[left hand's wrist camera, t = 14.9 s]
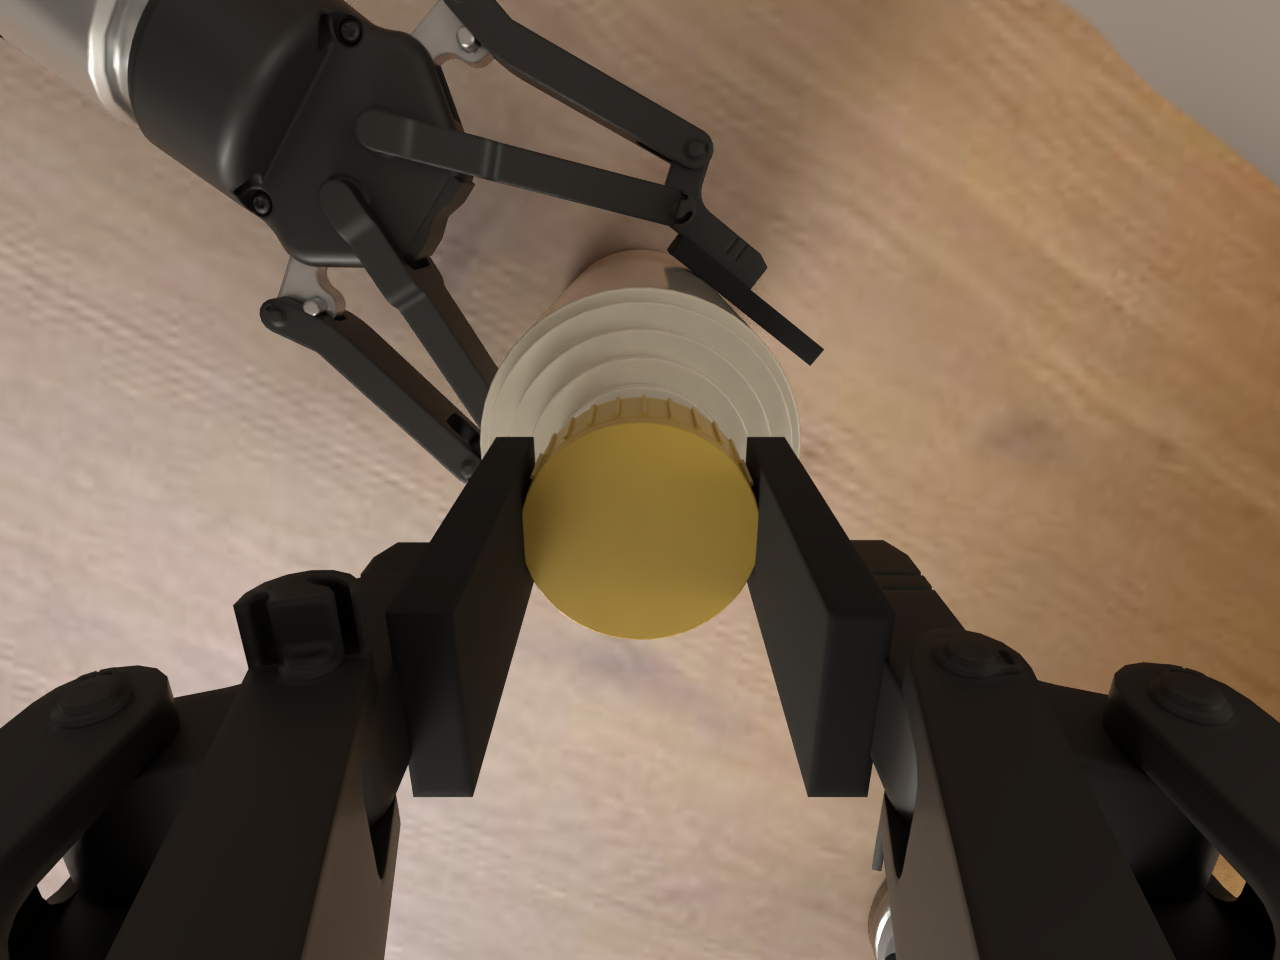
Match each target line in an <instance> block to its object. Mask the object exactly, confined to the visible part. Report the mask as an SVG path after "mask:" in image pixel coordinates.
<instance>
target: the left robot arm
mask: <svg viewBox="0 0 1280 960" xmlns="http://www.w3.org/2000/svg"><path fill="white" fill-rule="evenodd" d="M745 464H746V466H747V469H748V471H749V473H750V476H751V478H752V481H753V483H754V485H753V486H751V487H752V490H753V492H754V494H755V497H756V501H757V504H758V508H759V515H758V530H757V545H756V559H755V566H754V568H753V570H752V573H751V575H750V577H749V579H748V581H747V584H748V587H749V591H750V594H751V598H752V601H753V605H754V608H755V612H756V615H757V619H758V622H759V626H760V629H761V633H762V636H763V640H764V643H765V647H766V650H767V654H768V658H769V661H770V665H771V668H772V672H773V675H774V679H775V682H776V686H777V689H778V693H779V696H780V700H781V703H782V707H783V710H784V714H785V717H786V721H787V724H788V728H789V731H790V735H791V738H792V742H793V745H794V749H795V752H796V756H797V760H798V763H799V767H800V770H801V774H802V777H803V781H804V784H805V788H806V791H807V795H808V797H867V796H868V790H869V783H870V777H871V770H872V764H873V763H874V765H875V768H876V770H877V772H878V775H879V777H880V779H881V782H882V784H883V787H884V789H885V792H884V798H883V804H882V810H881V816H880V822H879V828H878V834H877V840H876V846H875V852H874V858H873V865H872V869H873V870H878V871H881V870H882V864H883V859H884V864H885V872H886V880H887V881H886V882H885V883H884V884H883V886H882V887H881V889H880V890H879V892H878V894H877V895H876V897H875V899H874V902H873V904H872V907H871V910H870V914H869V921H868V931H869V937H870V941H871V944H872V947H873V951H874V954H875V957H876V960H1280V723H1279V722H1278V721H1276V720H1275V719H1274V718H1273V717H1271V716H1270V715H1269V714H1268V713H1266V712H1265V711H1264V710H1262V709H1261V708H1260V707H1259V706H1257V705H1256V704H1255V703H1253V702H1252V701H1251V700H1250V699H1248V698H1246V697H1245V696H1243V695H1242V694H1240V693H1239V692H1237V691H1235V690H1234V689H1232V688H1231V687H1229V686H1227V685H1226V684H1224V683H1221V682H1219V681H1217V680H1214V679H1212V678H1210V677H1207V676H1206V675H1204V674H1203V673H1201V672H1198V671H1195V670H1192V669H1188V668H1186V669H1183V668H1182V667H1181V666H1176V665H1170V664H1157V663H1146V662H1143V663H1137V664H1130V665H1125V666H1124V667H1122V668H1121V669H1120V670H1119V671H1117V672H1116V673H1115V675H1114V678H1113V681H1112V685H1111V688H1110V691H1109V695H1106V694H1100V693H1095V692H1090V691H1085V690H1080V689H1075V688H1069V687H1064V686H1059V685H1054V684H1050V683H1046V682H1043V681H1039V680H1037V678H1036V676H1035V674H1034V672H1033V670H1032V668H1031V667H1030V666H1029V664H1028V663H1027V662H1026V661H1025V660H1024V658H1023V657H1022V656H1021V655H1020V654H1019V653H1017V652H1016V651H1014V650H1013V649H1011V648H1010V647H1008V646H1007V645H1005V644H1004V643H1002V642H1000V641H998V640H995V639H993V638H990V637H988V636H985V635H983V634H980V633H975V632H971V631H966V630H965V629H964V628H963V626H962V625H961V624H960V622H959V621H958V620H957V619H956V617H955V616H954V615H953V613H952V612H951V611H950V609H949V608H948V607H947V606H946V604H945V603H944V602H943V600H942V599H941V598H940V596H939V595H938V594H937V593H936V591H935V590H932V586H931V585H930V584H929V582H928V581H927V580H926V578H925V577H924V576H921V572H920V571H919V569H918V568H917V567H916V565H915V564H914V563H913V561H912V560H911V559H910V558H909V556H908V555H907V554H905V553H903V552H902V551H900V550H899V549H897V548H895V547H894V546H892V545H890V544H889V543H887V542H886V541H884V540H849V538H848V536H847V535H846V533H845V532H844V530H843V529H842V527H841V525H840V524H839V522H838V521H837V519H836V517H835V516H834V514H833V513H832V511H831V510H830V508H829V506H828V505H827V503H826V502H825V500H824V498H823V497H822V495H821V494H820V492H819V491H818V489H817V487H816V486H815V484H814V483H813V481H812V479H811V478H810V476H809V475H808V473H807V472H806V470H805V468H804V467H803V465H802V464H801V462H800V460H799V459H798V457H797V456H796V454H795V453H794V451H793V449H792V448H791V446H790V445H789V443H788V441H787V440H786V438H785V437H747V446H746V463H745ZM534 466H535V449H534V437H496V438H495V440H494V441H493V443H492V444H491V446H490V448H489V449H488V451H487V452H486V454H485V455H484V457H483V459H482V460H481V462H480V463H479V465H478V467H477V468H476V470H475V471H474V473H473V475H472V476H471V478H470V479H469V481H468V482H467V484H466V486H465V487H464V489H463V490H462V492H461V494H460V495H459V497H458V498H457V500H456V501H455V503H454V505H453V506H452V508H451V509H450V511H449V513H448V514H447V516H446V517H445V519H444V520H443V522H442V524H441V525H440V527H439V528H438V530H437V532H436V533H435V535H434V536H433V538H432V540H431V541H430V542H398V543H396V544H395V545H393V546H391V547H390V548H388V549H386V550H385V551H383V552H382V553H380V554H378V555H377V556H375V557H374V558H373V559H372V560H371V562H370V563H369V564H368V566H367V567H366V568H365V569H364V571H363V572H362V573H361V578H358V579H356V578H355V577H354V576H352V575H351V574H348V573H344V572H340V571H335V570H310V571H305V572H299V573H294V574H288V575H285V576H282V577H279V578H276V579H273V580H270V581H267V582H264V583H263V584H261V585H259V586H257V587H255V588H254V589H252V590H250V591H248V592H247V593H245V594H244V595H243V596H242V597H241V598H240V599H239V600H238V601H237V602H236V603H235V604H234V605H233V607H234V611H235V615H236V619H237V623H238V627H239V631H240V635H241V639H242V644H243V648H244V652H245V656H246V660H247V664H248V668H249V669H248V671H247V673H246V675H245V677H244V679H243V681H242V683H241V684H239V685H235V686H231V687H227V688H222V689H217V690H212V691H207V692H202V693H197V694H191V695H186V696H181V697H176V698H173V694H172V691H171V688H170V684H169V681H168V678H167V676H166V675H165V674H163V673H162V672H161V671H160V670H158V669H157V668H151V667H145V666H139V665H137V666H127V667H113V668H107V669H102V670H100V671H99V672H97V671H95V672H91V673H88V674H85V675H82V676H80V677H78V678H77V679H75V680H73V681H71V682H68V683H66V684H64V685H62V686H59V687H57V688H55V689H54V690H52V691H51V692H49V693H47V694H46V695H44V696H43V697H41V698H40V699H38V700H36V701H35V702H33V703H32V704H31V705H29V706H28V707H27V708H26V709H24V710H23V711H22V712H21V713H19V714H18V715H17V716H15V717H14V718H13V719H12V720H10V721H9V722H8V723H7V724H5V725H4V726H3V727H2V728H0V960H384V955H385V947H386V939H387V930H388V922H389V914H390V906H391V898H392V890H393V881H394V873H395V865H396V857H397V849H398V841H399V832H400V817H399V810H398V804H397V798H396V792H397V790H398V788H399V785H400V783H401V780H402V778H403V776H404V773H405V771H406V768H407V766H408V765H409V771H410V778H411V784H412V791H413V797H473V794H474V791H475V787H476V784H477V780H478V777H479V773H480V770H481V766H482V763H483V759H484V755H485V752H486V748H487V745H488V741H489V738H490V734H491V731H492V727H493V724H494V720H495V717H496V713H497V710H498V706H499V703H500V699H501V696H502V692H503V689H504V685H505V682H506V678H507V675H508V671H509V667H510V664H511V660H512V657H513V653H514V650H515V646H516V643H517V639H518V636H519V632H520V629H521V625H522V622H523V618H524V615H525V611H526V608H527V604H528V601H529V597H530V594H531V590H532V587H533V583H534V580H533V579H532V577H531V575H530V573H529V570H528V568H527V566H526V561H525V547H524V532H523V517H522V508H523V504H524V501H525V498H526V495H527V492H528V490H529V487H530V484H531V482H532V479H530V476H531V474H532V471H533V469H534ZM1220 854H1221V855H1222V856H1223V857H1224V858H1225V859H1226V860H1227V861H1228V862H1229V863H1230V865H1231V866H1232V867H1233V868H1234V869H1235V870H1236V871H1237V872H1238V873H1239V874H1240V875H1241V876H1242V878H1243V879H1244V880H1245V881H1246V883H1245V886H1244V888H1243V890H1242V892H1241V895H1240V896H1239V897H1238V898H1236V897H1234V896H1233V895H1232V894H1231V893H1230V892H1228V891H1227V890H1226V889H1225V888H1224V887H1223V886H1222V885H1221V884H1220V883H1219V881H1218V880H1217V879H1216V878H1215V877H1214V876H1213V875H1212V872H1213V869H1214V867H1215V864H1216V862H1217V860H1218V857H1219V855H1220ZM62 857H63V859H64V861H65V864H66V866H67V869H68V871H69V874H70V878H69V879H68V880H67V881H66V882H65V883H64V884H63V886H62V887H61V888H60V889H59V890H58V891H57V892H56V893H54V894H53V895H52V896H51V897H49V898H48V899H47V900H45V899H43V898H42V896H41V894H40V892H39V890H38V887H37V884H38V883H39V882H40V881H41V880H42V879H43V878H44V877H45V875H46V874H47V873H48V872H49V871H50V870H51V869H52V868H53V867H54V866H55V865H56V863H57V862H58V861H59V860H60V859H61V858H62Z"/></svg>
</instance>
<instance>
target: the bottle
mask: <svg viewBox="0 0 1280 960" xmlns="http://www.w3.org/2000/svg"><path fill="white" fill-rule="evenodd" d="M642 395H646V396H647V398H658V399H663V400H667V401H668V398H670V399H672V400H673V402H675V403H678V404H681V405H683V406H686V407H688V408H690V409H692V407H694V408H696V410H697V412H698V413H700V414H701V415H702V416H704V417H705V418H707V419H708V420H710V421H711V422H713V421H715V422H717V424H718V427H719V429H720V430H721V431H722V432H723V433H724V435H725V436H726V437H727V438H728V439H732V440H733V441H734V444H735V446H736V449H737V451H738V454H739V456H740V459H741V460H742V459H744V461H745V463H746V446H747V437H785V438H786V440H787V441H788V443H789V445H790V446H791V448H792V449H793V451H794V453H795V454H796V456H797V457H798V459H799V457H800V445H801V435H800V420H799V415H798V410H797V405H796V400H795V398H794V395H793V392H792V389H791V386H790V383H789V381H788V379H787V377H786V375H785V373H784V371H783V369H782V367H781V365H780V363H779V362H778V360H777V359H776V358H775V356H774V355H773V353H772V352H771V351H770V349H769V348H768V346H767V345H766V344H765V343H764V342H763V341H762V340H761V339H760V338H759V337H758V335H757V334H756V333H755V332H754V331H753V330H752V329H751V328H750V327H749V326H748V325H747V324H746V323H745V322H744V321H743V319H742V318H741V317H740V316H739V315H738V314H737V313H736V312H735V311H734V310H733V309H732V308H731V307H730V306H729V305H728V303H727V302H726V301H725V300H724V299H723V298H722V297H721V296H720V295H719V294H718V293H717V292H716V291H715V290H714V289H713V288H712V287H711V286H710V285H708V284H707V283H706V282H705V281H703V280H702V279H701V278H700V277H698V276H697V275H696V274H694V273H693V272H692V271H691V270H689V269H688V268H687V267H686V266H684V265H683V264H682V263H681V262H679V261H678V260H677V259H676V258H674V257H673V256H672V255H669V254H666V253H663V252H659V251H654V250H646V249H637V250H627V251H621V252H618V253H614V254H611V255H609V256H607V257H604V258H602V259H600V260H598V261H597V262H595V263H594V264H592V265H591V266H589V267H588V268H587V269H586V270H584V271H583V272H582V273H581V274H580V275H579V276H578V277H577V278H576V279H575V281H574V282H573V283H572V284H571V285H570V286H569V287H568V288H567V289H566V290H565V291H564V292H563V293H562V295H561V296H560V297H559V298H558V299H557V300H556V301H555V302H554V303H553V304H552V305H551V306H550V307H549V308H548V310H547V311H546V312H545V313H544V314H543V315H542V316H541V317H540V318H539V319H538V320H537V321H536V322H535V323H534V325H533V326H532V327H531V328H530V329H529V330H528V331H527V332H526V333H525V334H524V335H523V336H522V338H521V339H520V340H519V341H518V342H517V343H516V344H515V345H514V346H513V347H512V349H511V350H510V352H509V353H508V355H507V356H506V357H505V359H504V360H503V362H502V363H501V365H500V367H499V369H498V371H497V373H496V375H495V377H494V379H493V381H492V383H491V385H490V388H489V391H488V394H487V397H486V400H485V404H484V409H483V414H482V420H481V432H480V448H481V458H482V459H483V457H484V455H485V454H486V452H487V451H488V449H489V448H490V446H491V444H492V443H493V441H494V440H495V438H496V437H534V449H535V464H536V462H537V459H538V457H539V454H540V453H542V454H544V452H545V450H546V448H547V447H548V444H549V441H550V439H551V436H552V435H553V433H555V434H557V433H558V432H559V431H560V430H561V429H562V428H563V427H564V426H565V425H567V424H568V422H569V419H570V418H571V417H572V416H573V417H574V418H575V417H577V416H578V415H580V414H582V413H583V412H585V411H587V410H589V409H591V405H593V404H596V406H597V405H600V404H603V403H606V402H610V401H613V400H616V397H620V398H621V399H624V398H635V397H642Z"/></svg>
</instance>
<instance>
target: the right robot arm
mask: <svg viewBox="0 0 1280 960" xmlns="http://www.w3.org/2000/svg"><path fill="white" fill-rule="evenodd" d="M0 37H1V38H3V39H5V40H6V41H8V42H9V43H10V44H12V45H13V46H15V47H16V48H17V49H19V50H20V51H22V52H23V53H24V54H26V55H27V56H29V57H30V58H32V59H33V60H34V61H36V62H37V63H39V64H40V65H41V66H43V67H44V68H46V69H47V70H48V71H50V72H51V73H53V74H54V75H56V76H57V77H58V78H60V79H61V80H63V81H64V82H65V83H67V84H68V85H70V86H71V87H72V88H74V89H75V90H77V91H78V92H80V93H81V94H82V95H84V96H85V97H87V98H88V99H89V100H91V101H92V102H94V103H95V104H96V105H98V106H99V107H101V108H102V109H104V110H105V111H106V112H108V113H109V114H111V115H112V116H113V117H115V118H116V119H118V120H119V121H120V122H122V123H123V124H125V125H128V126H132V127H135V128H138V129H141V131H142V132H143V134H144V135H145V137H146V138H147V139H148V140H149V141H150V142H151V143H152V144H154V145H155V146H157V147H158V148H160V149H161V150H162V151H164V152H165V153H167V154H168V155H170V156H171V157H172V158H174V159H175V160H177V161H178V162H180V163H181V164H182V165H184V166H185V167H187V168H188V169H190V170H191V171H192V172H194V173H195V174H197V175H198V176H200V177H201V178H202V179H204V180H205V181H207V182H208V183H210V184H211V185H212V186H214V187H215V188H217V189H218V190H220V191H221V192H222V193H224V194H225V195H227V196H228V197H230V198H231V199H232V200H234V201H235V202H237V203H238V204H240V205H241V206H243V207H244V208H246V209H247V210H249V211H250V212H252V213H253V214H255V215H257V216H258V217H259V218H261V219H262V220H263V221H264V222H266V223H267V224H268V226H269V227H270V228H271V229H272V230H273V231H274V233H275V234H276V236H277V237H278V239H279V241H280V242H281V244H282V246H283V247H284V249H285V250H286V251H287V253H288V254H289V255H290V259H289V262H288V266H287V269H286V272H285V275H284V279H283V282H282V285H281V289H280V292H279V295H278V297H277V298H274V299H270V300H267V301H266V302H264V303H263V304H262V306H261V308H260V317H261V320H262V322H263V324H264V325H265V326H266V327H267V328H268V329H269V330H271V331H273V332H275V333H277V334H279V335H281V336H283V337H286V338H288V339H290V340H292V341H294V342H296V343H298V344H301V345H303V346H305V347H307V348H309V349H311V350H314V351H316V352H317V353H319V354H320V355H321V356H322V357H323V358H324V359H325V360H326V361H327V362H329V363H330V364H331V365H332V366H333V367H334V368H335V369H336V370H337V371H339V372H340V373H341V374H342V375H343V376H344V377H345V378H346V379H347V380H349V381H350V382H351V383H352V384H353V385H354V386H355V387H356V388H358V389H359V390H360V391H361V392H362V393H363V394H364V395H365V396H366V397H368V398H369V399H370V400H371V401H372V402H373V403H374V404H375V405H376V406H378V407H379V408H380V409H381V410H382V411H383V412H384V413H385V414H386V415H388V416H389V417H390V418H391V419H392V420H393V421H394V422H395V423H396V424H398V425H399V426H400V427H401V428H402V429H403V430H404V431H405V432H406V433H408V434H409V435H410V436H411V437H412V438H413V439H414V440H415V441H416V442H418V443H419V444H420V445H421V446H422V447H423V448H424V449H425V450H427V451H428V452H429V453H430V454H431V455H432V456H433V457H434V458H435V459H437V460H438V461H439V462H440V463H441V464H442V465H443V466H444V467H445V468H447V469H448V470H449V471H450V472H451V473H452V474H453V475H454V476H455V477H457V478H458V479H459V480H460V481H462V482H464V483H467V482H468V481H469V479H470V478H471V476H472V475H473V473H474V471H475V470H476V468H477V467H478V465H479V463H480V462H481V460H482V458H481V448H480V432H481V430H480V429H481V420H482V414H483V409H484V404H485V400H486V397H487V394H488V391H489V388H490V385H491V383H492V381H493V379H494V377H495V375H496V373H497V371H498V368H497V366H496V365H495V363H494V361H493V360H492V358H491V357H490V355H489V354H488V352H487V351H486V349H485V348H484V346H483V345H482V343H481V341H480V340H479V338H478V337H477V335H476V334H475V332H474V331H473V329H472V328H471V326H470V324H469V323H468V321H467V320H466V318H465V317H464V315H463V314H462V312H461V311H460V309H459V308H458V306H457V304H456V303H455V301H454V300H453V298H452V297H451V295H450V294H449V292H448V291H447V289H446V287H445V285H444V281H443V278H442V275H441V274H440V272H439V270H438V269H437V267H436V266H435V264H434V262H433V261H432V259H431V258H430V256H432V254H433V253H434V251H435V249H436V248H437V246H438V245H439V243H440V241H441V240H442V237H443V234H444V230H445V227H446V223H447V220H448V217H449V216H450V215H451V214H452V213H453V212H454V211H455V210H456V209H458V208H459V207H460V206H461V205H462V204H463V203H464V202H465V200H466V199H467V197H468V196H469V194H470V192H471V191H472V189H473V187H474V186H475V184H474V183H473V182H472V180H473V176H475V177H479V178H483V179H487V180H491V181H495V182H499V183H503V184H507V185H511V186H515V187H519V188H523V189H526V190H530V191H534V192H538V193H542V194H546V195H550V196H554V197H558V198H562V199H566V200H570V201H574V202H577V203H581V204H585V205H589V206H593V207H597V208H601V209H605V210H609V211H613V212H617V213H621V214H624V215H628V216H632V217H636V218H640V219H644V220H648V221H652V222H656V223H660V224H664V225H668V226H669V227H671V228H672V229H673V230H674V231H676V232H677V233H678V235H677V236H676V238H675V239H674V240H673V242H672V243H671V245H670V246H669V247H668V249H667V250H668V252H669V253H670V254H671V255H672V256H673V257H674V258H676V259H677V260H678V261H679V262H681V263H682V264H683V265H684V266H686V267H687V268H688V269H689V270H691V271H692V272H693V273H694V274H696V275H697V276H698V277H700V278H701V279H702V280H703V281H705V282H706V283H707V284H708V285H710V286H711V287H712V288H713V289H715V290H716V291H717V292H718V293H720V294H721V295H722V296H723V297H725V298H726V299H727V300H728V301H730V302H731V303H732V304H733V305H735V306H736V307H737V308H738V309H740V310H741V311H742V312H743V313H745V314H746V315H747V316H748V317H750V318H751V319H752V320H753V321H755V322H756V323H757V324H758V325H760V326H761V327H762V328H763V329H765V330H766V331H767V332H768V333H770V334H771V335H772V336H773V337H775V338H776V339H777V340H778V341H780V342H781V343H782V344H783V345H785V346H786V347H787V348H788V349H790V350H791V351H792V352H793V353H795V354H796V355H797V356H798V357H800V358H801V359H802V360H804V361H805V362H806V363H807V364H809V365H810V366H811V364H812V363H813V362H814V361H815V360H816V359H817V357H818V356H819V355H820V354H821V353H822V351H823V350H824V349H823V348H822V347H820V346H819V345H818V344H817V343H816V342H814V341H813V340H812V339H811V338H809V337H808V336H807V335H806V334H804V333H803V332H802V331H801V330H799V329H798V328H797V327H796V326H795V325H793V324H792V323H791V322H790V321H788V320H787V319H786V318H785V317H783V316H782V315H781V314H780V313H778V312H777V311H776V310H775V309H774V308H772V307H771V306H770V305H769V304H767V303H766V302H765V301H764V300H762V299H761V298H760V297H759V296H758V295H756V294H755V293H754V292H753V291H751V290H750V289H751V288H752V287H753V286H754V284H755V283H756V282H757V280H758V279H759V278H760V277H761V275H762V274H763V273H764V272H765V270H766V269H767V266H766V264H765V262H764V260H763V258H762V256H761V254H760V253H759V252H757V251H756V250H755V249H754V248H752V247H751V246H750V245H749V244H748V243H746V242H745V241H744V240H743V239H742V238H740V237H739V236H738V235H737V234H736V233H734V232H733V231H732V230H731V229H730V228H728V227H727V226H726V225H725V224H723V223H722V222H721V221H720V220H719V219H717V218H716V217H715V216H714V215H713V214H711V213H710V212H709V211H708V210H707V209H706V208H705V206H704V204H703V202H702V198H701V188H702V184H703V180H704V177H705V174H706V171H707V167H708V164H709V161H710V159H711V157H712V154H713V143H712V140H711V138H710V136H709V135H708V134H707V133H705V132H704V131H703V130H701V129H699V128H698V127H696V126H694V125H692V124H691V123H689V122H687V121H686V120H684V119H682V118H680V117H679V116H677V115H675V114H673V113H672V112H670V111H668V110H667V109H665V108H663V107H661V106H660V105H658V104H656V103H655V102H653V101H651V100H649V99H648V98H646V97H644V96H643V95H641V94H639V93H637V92H636V91H634V90H632V89H631V88H629V87H627V86H625V85H624V84H622V83H620V82H619V81H617V80H615V79H613V78H612V77H610V76H608V75H606V74H605V73H603V72H601V71H600V70H598V69H596V68H594V67H593V66H591V65H589V64H588V63H586V62H584V61H582V60H581V59H579V58H577V57H576V56H574V55H572V54H570V53H569V52H567V51H565V50H564V49H562V48H560V47H558V46H557V45H555V44H553V43H552V42H550V41H548V40H546V39H545V38H543V37H541V36H539V35H538V34H536V33H534V32H533V31H531V30H529V29H527V28H526V27H524V26H522V25H521V24H519V23H517V22H515V21H514V20H512V19H511V18H510V17H509V16H508V15H507V13H506V12H505V11H504V10H503V9H502V7H501V6H500V5H499V4H498V3H497V2H496V0H439V1H438V2H437V3H436V4H435V6H434V7H433V8H432V9H431V10H430V12H429V13H428V14H427V15H426V17H425V18H424V19H423V20H422V21H421V23H420V24H419V25H418V26H417V27H416V29H415V30H414V31H413V32H412V34H411V35H410V34H407V33H405V32H401V31H395V30H388V29H384V28H381V27H378V26H376V25H374V24H373V23H371V22H370V21H369V20H368V19H366V18H365V17H364V16H362V15H361V14H360V13H359V12H357V11H356V10H355V9H354V8H352V7H351V6H350V5H349V4H347V3H346V2H345V1H344V0H0ZM494 58H495V59H496V60H497V61H498V62H499V63H500V64H501V65H502V66H504V67H505V68H506V69H507V70H508V71H510V72H511V73H512V74H514V75H516V76H517V77H519V78H520V79H522V80H523V81H525V82H527V83H529V84H530V85H532V86H534V87H536V88H537V89H539V90H541V91H543V92H544V93H546V94H548V95H550V96H552V97H553V98H555V99H557V100H559V101H560V102H562V103H564V104H566V105H567V106H569V107H571V108H573V109H574V110H576V111H578V112H580V113H581V114H583V115H585V116H587V117H589V118H590V119H592V120H594V121H596V122H597V123H599V124H601V125H603V126H604V127H606V128H608V129H610V130H611V131H613V132H615V133H617V134H618V135H620V136H622V137H624V138H626V139H627V140H629V141H631V142H633V143H634V144H636V145H638V146H640V147H641V148H643V149H645V150H647V151H648V152H650V153H652V154H654V155H655V156H657V157H659V158H661V159H662V160H664V161H666V162H668V163H670V168H669V171H668V175H667V178H666V182H665V185H661V184H657V183H653V182H649V181H646V180H642V179H638V178H634V177H630V176H626V175H622V174H619V173H615V172H611V171H607V170H603V169H599V168H596V167H592V166H588V165H584V164H580V163H576V162H572V161H569V160H565V159H561V158H557V157H553V156H549V155H545V154H542V153H538V152H534V151H530V150H526V149H522V148H519V147H515V146H511V145H507V144H503V143H500V142H496V141H493V140H490V139H486V138H483V137H479V136H475V135H471V134H467V133H465V132H464V130H463V127H462V124H461V121H460V118H459V116H458V113H457V110H456V107H455V104H454V102H453V99H452V96H451V93H450V91H449V88H448V85H447V82H446V79H445V77H444V74H443V71H442V68H441V65H442V64H443V63H444V62H445V61H447V60H450V59H458V60H462V61H463V62H465V63H466V64H468V65H469V66H471V67H474V68H483V67H485V66H487V65H488V64H489V63H490V62H491V61H492V60H493V59H494ZM327 267H353V268H365V269H366V271H367V272H368V273H369V275H370V276H371V278H372V279H373V281H374V282H375V284H376V285H377V287H378V288H379V290H380V291H381V293H382V294H383V295H384V297H385V298H386V299H387V301H388V302H389V303H390V304H391V305H393V306H394V307H396V308H397V309H398V310H399V311H400V312H401V313H402V315H403V316H404V318H405V319H406V321H407V322H408V323H409V325H410V326H411V328H412V329H413V331H414V332H415V334H416V335H417V337H418V338H419V340H420V341H421V343H422V344H423V346H424V347H425V348H426V350H427V351H428V353H429V354H430V356H431V357H432V359H433V360H434V362H435V363H436V365H437V366H438V368H439V369H440V371H441V372H442V373H443V375H444V376H445V378H446V379H447V381H448V382H449V384H450V385H451V387H452V388H453V390H454V391H455V393H456V394H457V396H458V397H459V399H460V400H461V401H462V403H463V404H464V406H465V407H466V409H467V410H468V412H469V413H470V415H471V416H472V418H473V419H474V421H475V422H476V424H477V425H478V426H479V428H480V429H479V428H478V427H477V426H476V425H475V424H474V423H473V422H471V421H470V420H469V419H468V418H467V417H466V416H465V415H464V414H463V413H462V412H461V411H460V410H459V409H458V408H456V407H455V406H454V405H453V404H452V403H451V402H450V401H449V400H448V399H447V398H446V397H445V396H444V395H443V394H441V393H440V392H439V391H438V390H437V389H436V388H435V387H434V386H433V385H432V384H431V383H430V382H429V381H428V380H426V379H425V378H424V377H423V376H422V375H421V374H420V373H419V372H418V371H417V370H416V369H415V368H414V367H413V366H411V365H410V364H409V363H408V362H407V361H406V360H405V359H404V358H403V357H402V356H401V355H400V354H399V353H398V352H396V351H395V350H394V349H393V348H392V347H391V346H390V345H389V344H388V343H387V342H386V341H385V340H384V339H383V338H382V337H380V336H379V335H378V334H377V333H376V332H375V331H374V330H373V329H372V328H371V327H369V326H368V325H367V324H366V323H365V322H364V321H362V320H361V319H359V318H358V317H357V316H355V315H354V314H352V313H350V312H349V311H347V310H345V307H346V304H345V299H344V297H343V295H342V294H341V293H340V292H339V291H338V290H337V289H336V288H334V287H333V286H332V285H331V283H330V282H329V280H328V277H327Z"/></svg>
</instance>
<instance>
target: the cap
mask: <svg viewBox="0 0 1280 960" xmlns="http://www.w3.org/2000/svg"><path fill="white" fill-rule="evenodd" d="M530 479H532V482H531V484H530V487H529V490H528V492H527V495H526V498H525V501H524V504H523V508H522V517H523V532H524V547H525V561H526V566H527V568H528V570H529V573H530V575H531V577H532V579H533V580H534V582H535V584H536V585H537V587H538V589H539V590H540V591H541V592H542V594H543V595H544V596H545V597H546V599H547V600H548V601H549V602H550V603H551V604H552V605H553V606H554V607H555V608H556V609H557V610H559V611H560V612H561V613H563V614H564V615H565V616H567V617H568V618H569V619H571V620H573V621H574V622H576V623H578V624H579V625H581V626H583V627H586V628H588V629H590V630H593V631H595V632H598V633H601V634H605V635H608V636H612V637H618V638H623V639H637V640H642V639H657V638H663V637H669V636H673V635H676V634H680V633H683V632H686V631H688V630H691V629H693V628H696V627H698V626H699V625H701V624H703V623H705V622H707V621H709V620H710V619H712V618H713V617H714V616H716V615H717V614H719V613H720V612H721V611H722V610H723V609H725V608H726V607H727V606H728V605H729V604H730V603H731V602H732V601H733V600H734V599H735V597H736V596H737V595H738V594H739V593H740V591H741V590H742V588H743V587H744V585H745V584H746V582H747V581H748V579H749V577H750V575H751V573H752V570H753V568H754V566H755V559H756V545H757V530H758V515H759V508H758V504H757V501H756V497H755V494H754V492H753V490H752V487H751V486H753V485H754V483H753V481H752V478H751V476H750V473H749V471H748V469H747V466H746V464H745V461H744V459H742V460H741V459H740V456H739V454H738V451H737V449H736V446H735V444H734V441H733V440H732V439H728V438H727V437H726V436H725V435H724V433H723V432H722V431H721V430H720V429H719V427H718V424H717V422H715V421H713V422H711V421H710V420H708V419H707V418H705V417H704V416H702V415H701V414H700V413H698V412H697V410H696V408H694V407H692V409H690V408H688V407H686V406H683V405H681V404H678V403H675V402H673V400H672V399H670V398H668V401H667V400H663V399H658V398H647V396H646V395H642V397H635V398H624V399H621V398H620V397H616V400H613V401H610V402H606V403H603V404H600V405H597V406H596V404H593V405H591V409H589V410H587V411H585V412H583V413H582V414H580V415H578V416H577V417H575V418H574V417H573V416H572V417H571V418H570V419H569V422H568V424H567V425H565V426H564V427H563V428H562V429H561V430H560V431H559V432H558V433H557V434H555V433H553V435H552V436H551V439H550V441H549V444H548V447H547V448H546V450H545V452H544V454H542V453H540V454H539V457H538V459H537V462H536V464H535V466H534V469H533V471H532V474H531V476H530Z"/></svg>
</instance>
